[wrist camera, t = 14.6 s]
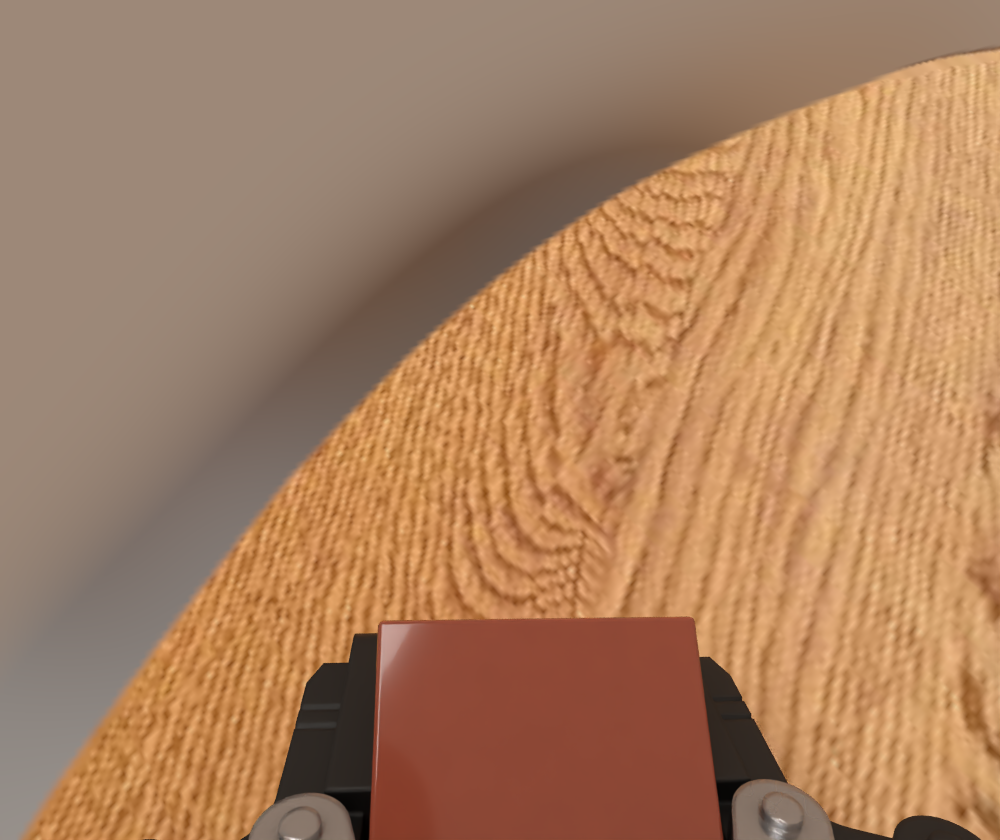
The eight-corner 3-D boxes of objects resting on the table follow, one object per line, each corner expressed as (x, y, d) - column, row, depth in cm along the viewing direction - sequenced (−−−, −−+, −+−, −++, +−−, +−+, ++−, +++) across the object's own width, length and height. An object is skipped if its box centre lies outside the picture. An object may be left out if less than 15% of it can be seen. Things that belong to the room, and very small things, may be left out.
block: (609, 898, 16) (748, 1005, 9) (400, 906, 15) (359, 1024, 8) (593, 679, 18) (695, 615, 10) (406, 683, 17) (377, 619, 10)
